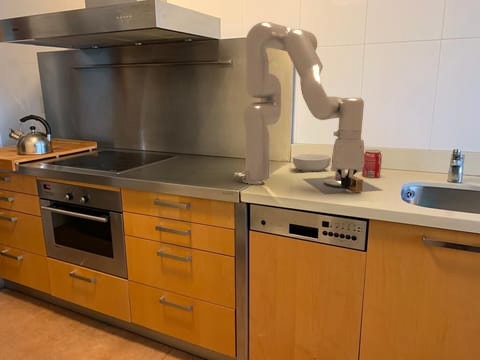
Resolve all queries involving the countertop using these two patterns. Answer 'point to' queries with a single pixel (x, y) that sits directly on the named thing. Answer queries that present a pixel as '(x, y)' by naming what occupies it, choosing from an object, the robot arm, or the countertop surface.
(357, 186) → the dial
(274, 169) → the countertop surface
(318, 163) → the cereal bowl
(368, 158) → the soda can
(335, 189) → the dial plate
